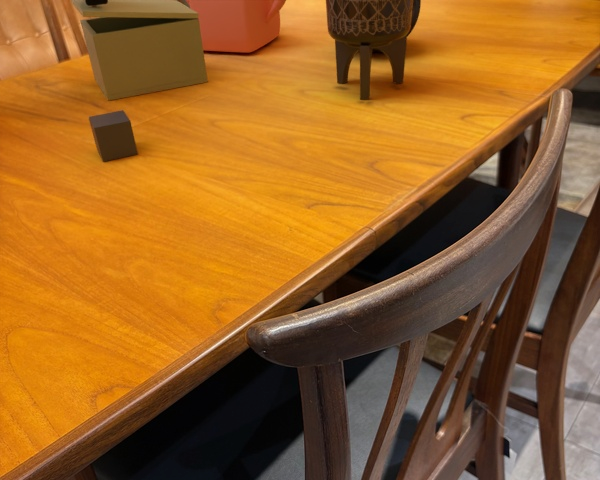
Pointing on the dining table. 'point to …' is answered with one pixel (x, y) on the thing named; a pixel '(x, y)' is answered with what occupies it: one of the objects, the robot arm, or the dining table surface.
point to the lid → (136, 9)
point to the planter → (369, 35)
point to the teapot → (237, 23)
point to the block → (113, 135)
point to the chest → (144, 54)
